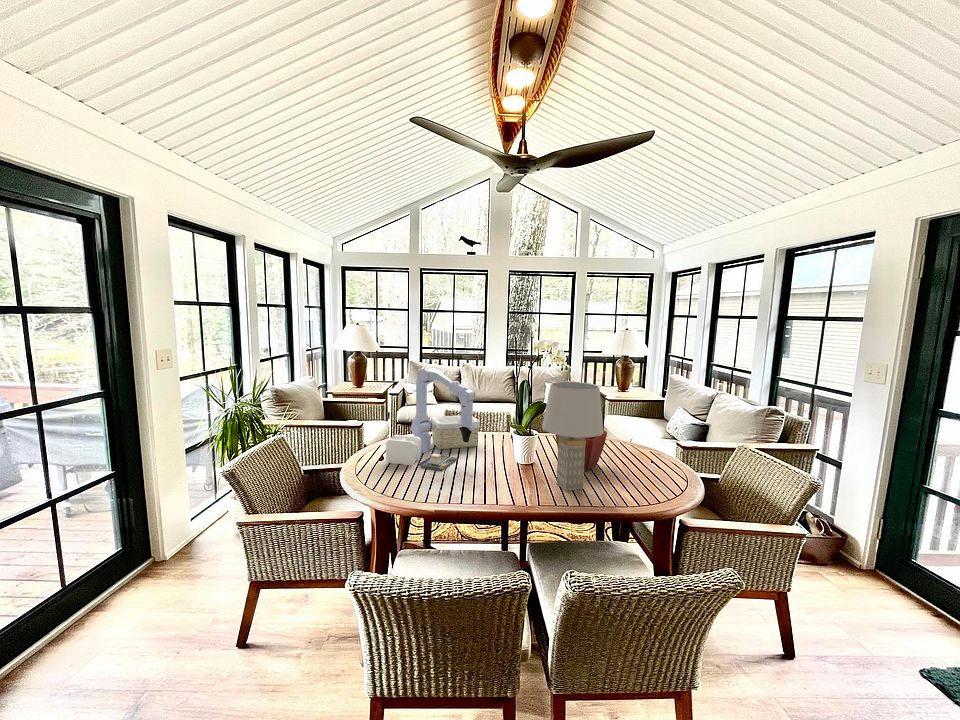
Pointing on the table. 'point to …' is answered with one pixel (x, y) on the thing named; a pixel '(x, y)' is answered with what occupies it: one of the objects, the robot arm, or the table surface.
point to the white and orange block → (435, 459)
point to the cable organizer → (403, 449)
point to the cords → (424, 461)
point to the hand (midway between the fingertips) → (465, 441)
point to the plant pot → (592, 450)
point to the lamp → (572, 427)
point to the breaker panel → (445, 463)
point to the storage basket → (452, 432)
